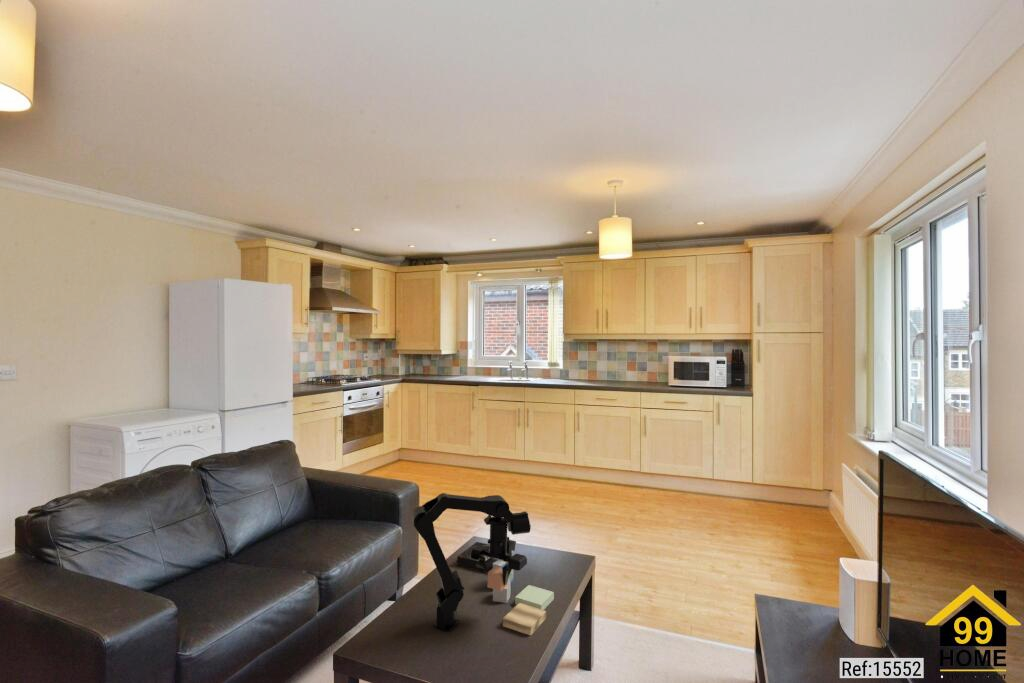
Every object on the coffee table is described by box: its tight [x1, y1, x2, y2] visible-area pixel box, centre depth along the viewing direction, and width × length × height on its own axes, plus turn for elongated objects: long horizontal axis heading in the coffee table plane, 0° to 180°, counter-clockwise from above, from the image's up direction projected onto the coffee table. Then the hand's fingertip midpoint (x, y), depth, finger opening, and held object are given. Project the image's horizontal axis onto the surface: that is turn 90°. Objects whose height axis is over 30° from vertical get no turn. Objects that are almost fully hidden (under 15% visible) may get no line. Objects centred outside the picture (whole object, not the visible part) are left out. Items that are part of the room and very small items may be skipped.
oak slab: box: [502, 603, 547, 636], centre depth 163 cm, size 11×10×2 cm
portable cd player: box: [456, 541, 513, 573], centre depth 207 cm, size 16×17×4 cm
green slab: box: [514, 584, 555, 610], centre depth 176 cm, size 10×10×2 cm
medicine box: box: [493, 560, 514, 584], centre depth 188 cm, size 8×4×9 cm, turn 143°
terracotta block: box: [487, 566, 508, 591], centre depth 166 cm, size 5×5×5 cm
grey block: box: [492, 582, 512, 604], centre depth 177 cm, size 5×5×5 cm
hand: (498, 582), depth 166 cm, fingers closed on terracotta block, 5 cm apart
